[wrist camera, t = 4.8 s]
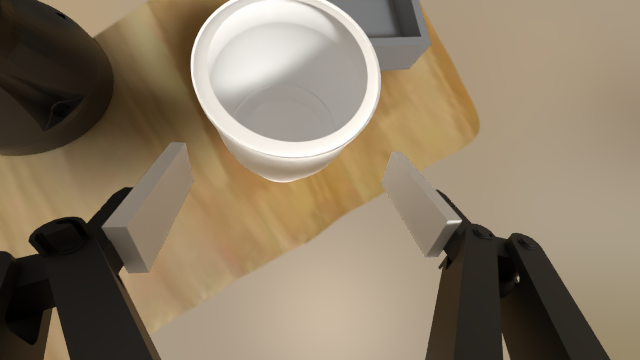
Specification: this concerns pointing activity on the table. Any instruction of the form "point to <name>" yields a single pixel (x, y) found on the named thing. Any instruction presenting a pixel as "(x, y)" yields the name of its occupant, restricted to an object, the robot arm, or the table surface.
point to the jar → (285, 83)
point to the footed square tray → (390, 29)
